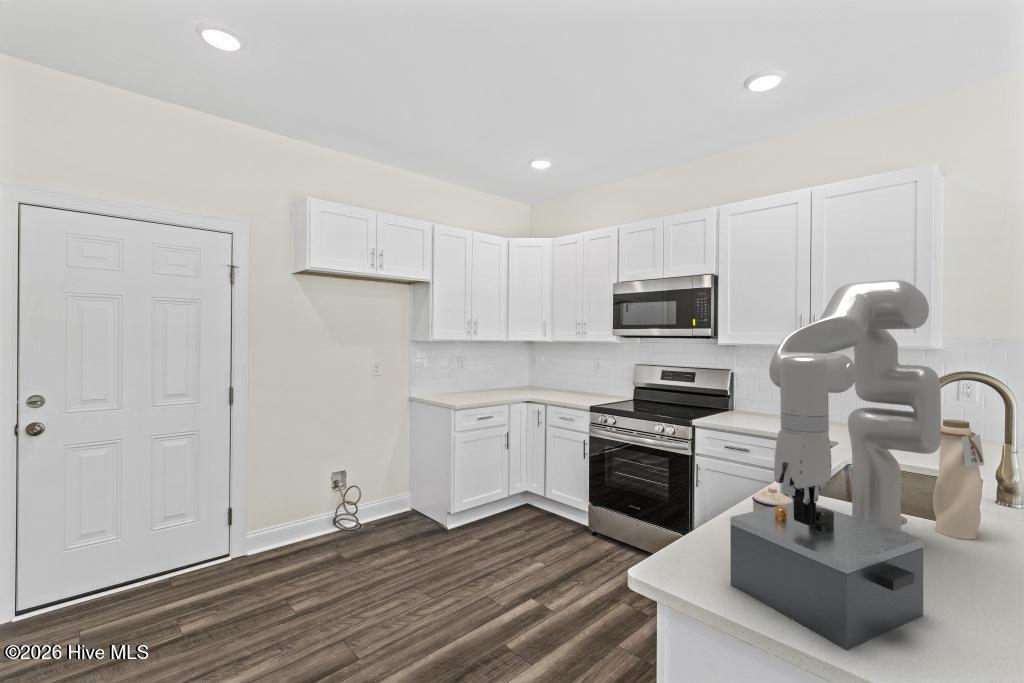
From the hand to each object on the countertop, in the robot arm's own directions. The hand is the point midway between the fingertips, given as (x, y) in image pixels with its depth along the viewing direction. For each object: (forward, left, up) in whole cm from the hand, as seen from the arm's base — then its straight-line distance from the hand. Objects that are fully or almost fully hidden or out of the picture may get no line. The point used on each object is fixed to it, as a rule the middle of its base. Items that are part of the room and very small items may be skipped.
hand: (804, 522), depth 88 cm
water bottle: (-65, -4, -16) cm, 66 cm away
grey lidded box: (-5, 0, -15) cm, 16 cm away
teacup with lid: (-25, -24, -16) cm, 38 cm away
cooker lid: (-5, 0, -3) cm, 6 cm away
